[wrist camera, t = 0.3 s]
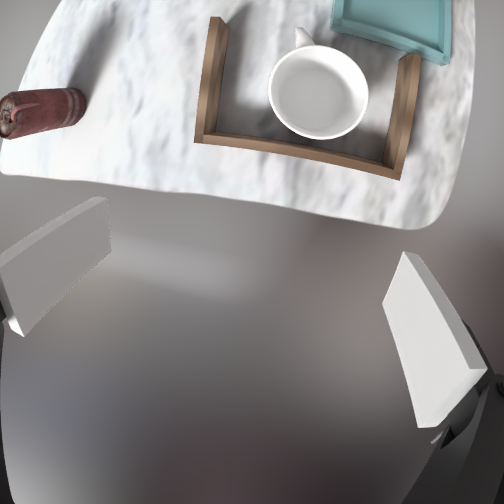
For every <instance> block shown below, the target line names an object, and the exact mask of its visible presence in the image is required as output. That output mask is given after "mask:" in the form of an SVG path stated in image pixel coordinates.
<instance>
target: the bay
mask: <svg viewBox="0 0 504 504" xmlns="http://www.w3.org/2000/svg"><path fill="white" fill-rule="evenodd" d="M229 29H230V28H229V27H228V26H227V25H226V24H225V22H224V21H223V20H222V19H221V18H220V17H211V18H210V24H209V29H208V35H207V42H206V48H205V54H204V61H203V68H202V75H201V83H200V91H199V99H198V108H197V117H196V126H195V136H194V143H202V144H212V145H220V146H229V147H237V148H244V149H251V150H258V151H265V152H271V153H277V154H283V155H289V156H294V157H300V158H305V159H310V160H315V161H320V162H325V163H330V164H334V165H339V166H343V167H348V168H352V169H356V170H360V171H364V172H368V173H372V174H376V175H380V176H384V177H388V178H391V179H395V180H399V181H400V178H401V174H402V169H403V165H404V161H405V156H406V152H407V147H408V142H409V137H410V132H411V127H412V122H413V116H414V110H415V104H416V97H417V90H418V83H419V75H420V66H421V56H420V55H418V54H415V53H412V54H410V55H408V56H406V57H404V58H402V59H400V60H399V64H398V73H397V80H396V87H395V94H394V101H393V107H392V113H391V118H390V124H389V129H388V135H387V140H386V145H385V149H384V154H383V159H382V163H381V162H378V161H374V160H370V159H366V158H362V157H358V156H354V155H350V154H345V153H341V152H337V151H332V150H328V149H323V148H318V147H313V146H308V145H303V144H297V143H292V142H286V141H280V140H274V139H267V138H261V137H253V136H246V135H238V134H230V133H221V132H215V131H216V122H217V113H218V105H219V97H220V90H221V82H222V75H223V68H224V61H225V54H226V48H227V41H228V35H229Z"/></svg>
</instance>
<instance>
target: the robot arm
mask: <svg viewBox="0 0 504 504" xmlns="http://www.w3.org/2000/svg"><path fill="white" fill-rule="evenodd" d="M110 252H111V241H110V230H109V214H108V198H104V197H97V196H95V197H93V198H91V199H89V200H87V201H85V202H83V203H82V204H80V205H78V206H76V207H74V208H73V209H71V210H69V211H67V212H66V213H64V214H63V215H60V216H59V217H57V218H55V219H54V220H52V221H51V222H49V223H47V224H46V225H44V226H42V227H41V228H39V229H37V230H36V231H34V232H33V233H31V234H30V235H28V236H26V237H25V238H23V239H22V240H20V241H19V242H17V243H16V244H14V245H13V246H11V247H10V248H9V249H7V250H6V251H4V252H3V253H1V254H0V377H1V358H2V347H3V337H4V326H3V323H2V320H4V319H5V318H6V317H7V320H8V322H9V324H10V327H11V329H12V330H13V331H15V332H17V333H18V334H20V335H22V336H23V337H24V336H25V335H26V334H27V333H28V332H29V331H30V330H31V329H32V328H33V327H34V326H35V324H36V323H37V322H38V321H39V320H40V319H41V318H42V317H43V316H44V315H45V314H46V313H47V312H48V311H49V310H50V309H51V308H52V307H53V306H54V305H55V304H56V303H57V302H58V301H59V300H60V299H61V298H62V297H63V296H64V295H65V294H66V293H67V292H68V291H69V290H70V289H71V288H72V287H73V286H74V285H75V284H76V283H77V282H78V281H79V280H81V279H82V278H83V277H84V276H85V275H86V274H87V273H88V272H89V271H90V270H91V269H92V268H93V267H94V266H96V265H97V264H98V263H99V262H100V261H101V260H102V259H103V258H104V257H106V256H107V255H108V254H109V253H110ZM382 305H383V308H384V311H385V313H386V316H387V319H388V322H389V325H390V328H391V331H392V334H393V337H394V340H395V343H396V347H397V349H398V353H399V356H400V359H401V363H402V366H403V370H404V373H405V377H406V380H407V384H408V387H409V391H410V395H411V399H412V403H413V407H414V411H415V416H416V420H417V425H418V428H423V427H434V426H437V425H438V424H439V423H440V422H441V421H442V420H443V419H444V418H445V417H446V416H447V415H448V419H449V422H450V424H449V425H448V426H447V427H446V428H445V429H444V430H442V431H441V432H440V433H439V434H438V435H437V436H436V437H435V438H434V439H433V440H432V441H431V443H432V444H433V443H434V442H436V441H437V440H438V439H439V441H438V443H437V445H436V447H435V449H434V451H433V453H432V454H431V456H430V458H429V460H428V462H427V463H426V465H425V467H424V469H423V470H422V472H421V474H420V475H419V477H418V479H417V480H416V482H415V484H414V485H413V487H412V488H411V490H410V491H409V493H408V494H407V496H406V497H405V499H404V500H403V502H402V503H401V504H504V375H502V374H496V375H495V374H494V372H493V370H492V368H491V366H490V364H489V362H488V360H487V358H486V356H485V354H484V352H483V350H482V348H480V345H479V343H478V342H477V340H476V339H475V336H474V334H473V332H472V331H471V329H470V327H469V326H468V325H467V324H466V323H465V322H464V321H463V320H462V319H461V318H460V317H459V315H458V314H457V312H456V311H455V309H454V307H453V306H452V304H451V302H450V301H449V299H448V298H447V296H446V295H445V293H444V291H443V290H442V288H441V287H440V285H439V284H438V282H437V281H436V280H435V278H434V277H433V275H432V273H431V272H430V271H429V269H428V268H427V266H426V265H425V263H424V262H423V261H422V259H421V258H420V257H419V255H418V254H413V253H409V252H405V251H404V252H403V254H402V256H401V259H400V262H399V264H398V267H397V269H396V272H395V275H394V277H393V280H392V282H391V284H390V287H389V289H388V292H387V294H386V296H385V298H384V301H383V303H382ZM0 504H15V503H14V501H13V499H12V496H11V492H10V487H9V482H8V477H7V472H6V465H5V459H4V452H3V443H2V432H1V413H0Z"/></svg>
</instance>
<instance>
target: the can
mask: <svg viewBox="0 0 504 504" xmlns="http://www.w3.org/2000/svg"><path fill="white" fill-rule="evenodd" d="M84 111H85V98H84V95H83V94H82V93H81V91H80V90H78V89H77V88H57V89H39V90H27V91H17V92H11V93H9V94H8V95H6V96H4V97H3V98H2V99H1V101H0V137H1V138H5V139H9V140H11V139H14V138H18V137H22V136H26V135H30V134H34V133H39V132H43V131H48V130H52V129H57V128H63V127H68V126H72V125H75V124H76V123H77V122H78V121H79V120H80V119H81V117H82V116H83V113H84Z"/></svg>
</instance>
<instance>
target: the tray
mask: <svg viewBox="0 0 504 504" xmlns="http://www.w3.org/2000/svg"><path fill="white" fill-rule="evenodd" d="M451 23H452V16H451V0H333V9H332V18H331V26H330V30H332V31H337V32H341V33H345V34H349V35H353V36H357V37H361V38H365V39H368V40H372V41H375V42H378V43H382V44H385V45H388V46H391V47H394V48H397V49H400V50H402V51H405V52H408V53H411V54H412V53H415V54H418V55H420V56H421V58H423V59H426V60H428V61H431V62H433V63H435V64H438V65H440V66H442V65H446V64H450V52H451Z"/></svg>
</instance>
